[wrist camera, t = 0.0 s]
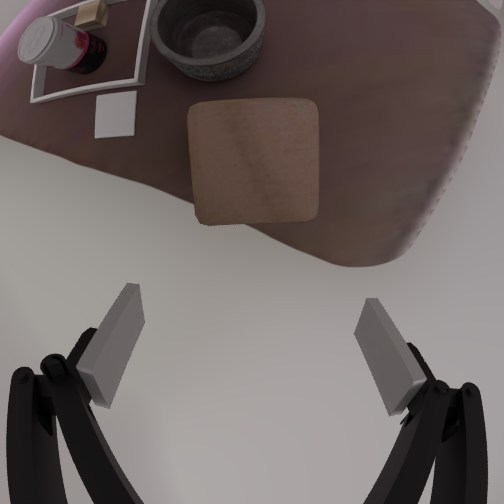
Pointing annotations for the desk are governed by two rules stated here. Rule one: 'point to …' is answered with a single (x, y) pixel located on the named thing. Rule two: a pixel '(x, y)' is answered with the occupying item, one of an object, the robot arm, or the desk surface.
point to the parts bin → (138, 80)
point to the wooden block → (254, 160)
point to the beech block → (92, 16)
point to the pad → (115, 114)
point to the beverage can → (60, 46)
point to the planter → (209, 35)
